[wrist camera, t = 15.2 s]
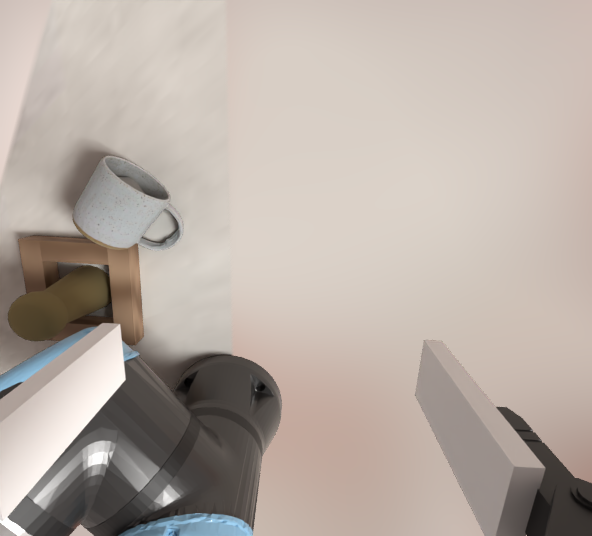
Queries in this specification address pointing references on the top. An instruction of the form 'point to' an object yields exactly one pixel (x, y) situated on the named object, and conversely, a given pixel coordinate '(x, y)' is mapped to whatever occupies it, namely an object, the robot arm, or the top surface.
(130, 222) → the ceramic mug
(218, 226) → the top surface
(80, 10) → the top surface
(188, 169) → the top surface
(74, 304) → the olive rounded upright piece
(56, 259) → the socket block
